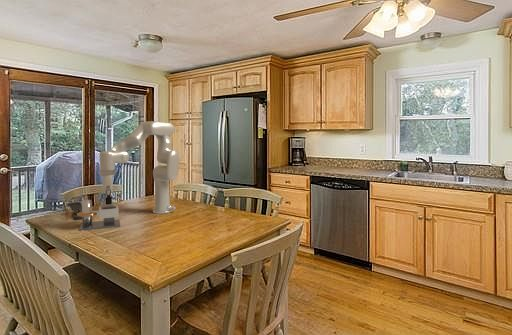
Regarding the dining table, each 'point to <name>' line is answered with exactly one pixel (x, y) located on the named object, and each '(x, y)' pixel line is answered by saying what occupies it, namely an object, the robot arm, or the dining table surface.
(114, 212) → the grey boxy fixture
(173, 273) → the dining table surface
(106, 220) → the grey block
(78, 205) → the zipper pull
